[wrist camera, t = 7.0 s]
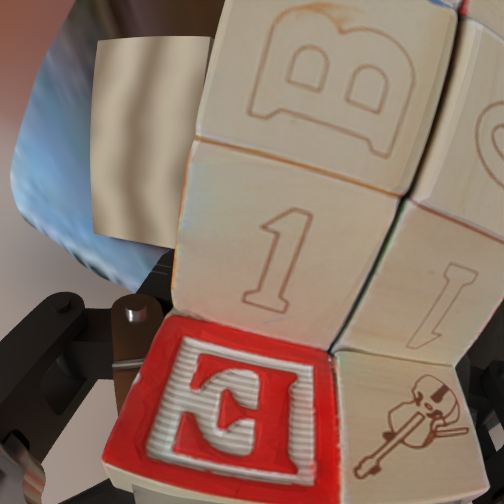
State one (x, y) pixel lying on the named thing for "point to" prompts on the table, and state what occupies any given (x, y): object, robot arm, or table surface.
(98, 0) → the table surface
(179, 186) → the birch board
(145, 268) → the table surface
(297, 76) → the stack of blocks
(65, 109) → the table surface
